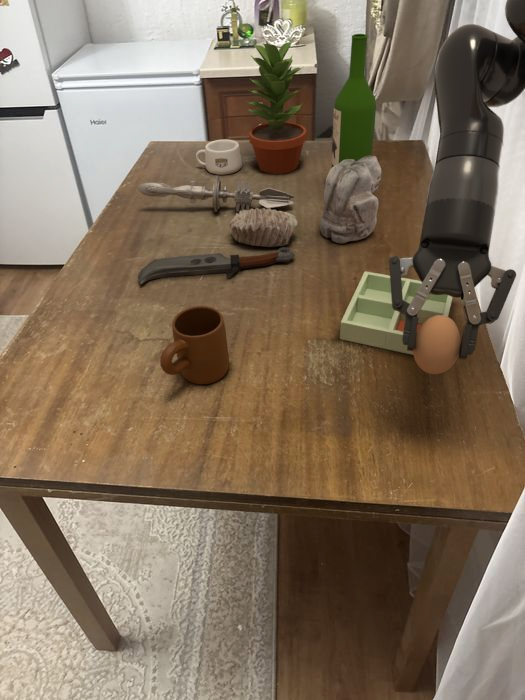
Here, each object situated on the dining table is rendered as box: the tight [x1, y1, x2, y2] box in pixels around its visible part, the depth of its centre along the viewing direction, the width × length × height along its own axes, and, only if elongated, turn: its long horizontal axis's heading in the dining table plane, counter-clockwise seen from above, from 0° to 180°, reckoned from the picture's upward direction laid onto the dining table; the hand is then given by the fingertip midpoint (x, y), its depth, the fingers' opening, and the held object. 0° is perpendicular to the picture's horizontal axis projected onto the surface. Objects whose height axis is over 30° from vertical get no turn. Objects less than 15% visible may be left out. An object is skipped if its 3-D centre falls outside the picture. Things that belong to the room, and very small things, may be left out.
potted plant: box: [246, 37, 307, 175], centre depth 131 cm, size 15×15×30 cm
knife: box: [137, 246, 295, 285], centre depth 103 cm, size 9×2×30 cm
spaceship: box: [137, 175, 295, 213], centre depth 120 cm, size 8×35×8 cm
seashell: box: [229, 207, 299, 248], centre depth 109 cm, size 14×9×10 cm
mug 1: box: [159, 305, 230, 385], centre depth 78 cm, size 12×8×9 cm, turn 147°
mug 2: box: [195, 138, 243, 176], centre depth 139 cm, size 12×10×6 cm
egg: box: [412, 315, 461, 375], centre depth 62 cm, size 5×5×8 cm
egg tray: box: [339, 270, 454, 356], centre depth 88 cm, size 15×15×4 cm
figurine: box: [319, 154, 382, 244], centre depth 108 cm, size 10×11×15 cm
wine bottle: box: [331, 33, 377, 168], centre depth 117 cm, size 9×9×32 cm
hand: (436, 353), depth 60 cm, fingers closed on egg, 5 cm apart
